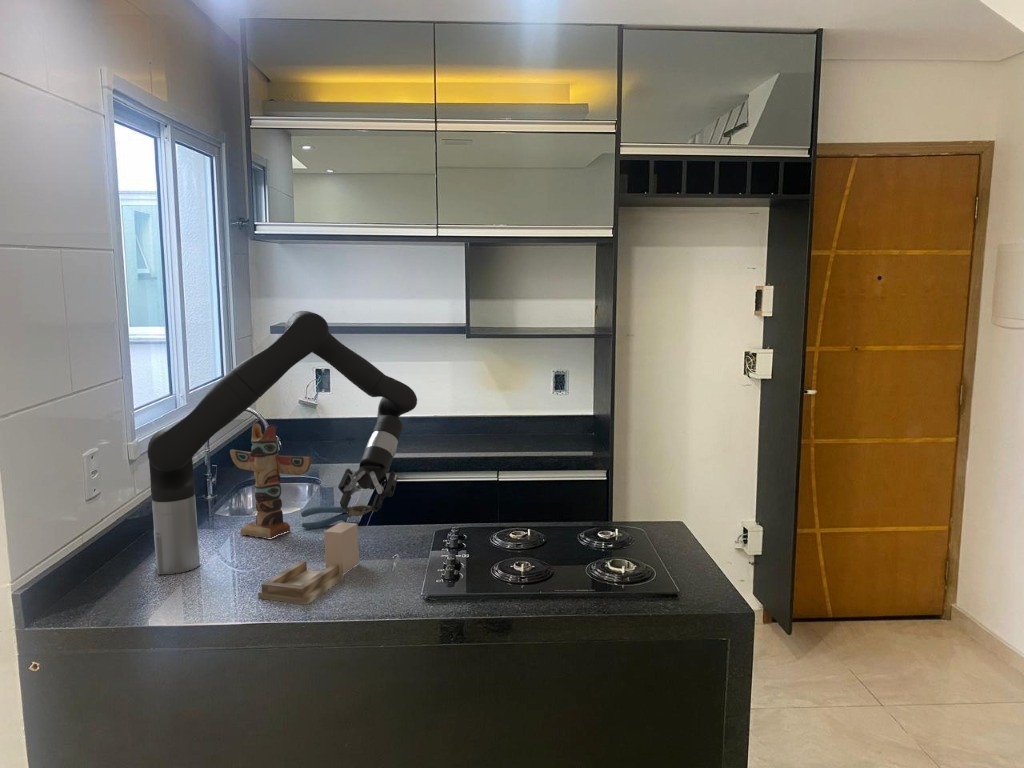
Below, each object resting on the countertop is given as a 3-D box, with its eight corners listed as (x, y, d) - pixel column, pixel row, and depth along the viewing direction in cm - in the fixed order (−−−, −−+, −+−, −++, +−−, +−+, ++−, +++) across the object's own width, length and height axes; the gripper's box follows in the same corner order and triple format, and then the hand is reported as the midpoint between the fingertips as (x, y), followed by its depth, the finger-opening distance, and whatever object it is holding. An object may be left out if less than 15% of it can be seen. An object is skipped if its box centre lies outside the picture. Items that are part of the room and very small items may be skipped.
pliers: (372, 518, 204) (371, 498, 203) (374, 520, 202) (373, 500, 201) (301, 528, 195) (300, 508, 194) (302, 530, 193) (301, 510, 193)
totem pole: (216, 531, 194) (209, 424, 191) (237, 523, 201) (230, 420, 198) (296, 544, 182) (290, 430, 179) (316, 535, 189) (310, 425, 185)
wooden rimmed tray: (307, 604, 145) (306, 589, 144) (258, 598, 148) (257, 583, 148) (343, 579, 158) (342, 565, 158) (297, 573, 162) (296, 560, 161)
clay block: (343, 575, 160) (341, 532, 159) (326, 573, 162) (324, 531, 161) (359, 564, 167) (357, 523, 166) (342, 562, 168) (340, 522, 167)
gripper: (349, 443, 180) (326, 499, 170) (399, 446, 175) (379, 503, 166) (360, 459, 185) (339, 514, 176) (409, 462, 181) (390, 518, 171)
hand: (358, 508), depth 171 cm, fingers open, 8 cm apart
